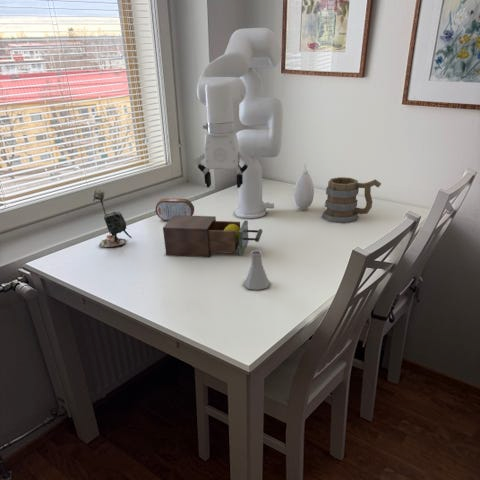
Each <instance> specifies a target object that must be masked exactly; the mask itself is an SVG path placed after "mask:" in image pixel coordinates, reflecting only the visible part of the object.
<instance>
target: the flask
mask: <svg viewBox="0 0 480 480" xmlns="http://www.w3.org/2000/svg"><path fill="white" fill-rule="evenodd" d="M250 255H251V262H250V266H249V270H248V273H247V277H246V279H245V282H244V287H246V288H247V289H248V290H256V291H258V290H264V289H267V288H269V285H270V281H269V279H268V276H267V273H266V270H265V268H264V265H263V261H262V255H263V251H261V250H258V249H257V250H256V249H255V250H251V252H250Z"/></svg>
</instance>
